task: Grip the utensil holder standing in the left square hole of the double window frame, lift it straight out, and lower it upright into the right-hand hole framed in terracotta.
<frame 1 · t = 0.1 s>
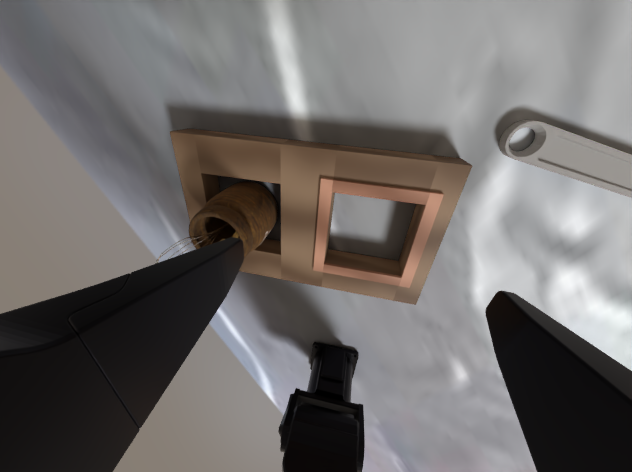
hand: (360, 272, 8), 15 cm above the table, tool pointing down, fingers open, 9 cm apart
double window frame: (309, 214, 24), on the table
utensil holder: (255, 205, 25), resting in double window frame
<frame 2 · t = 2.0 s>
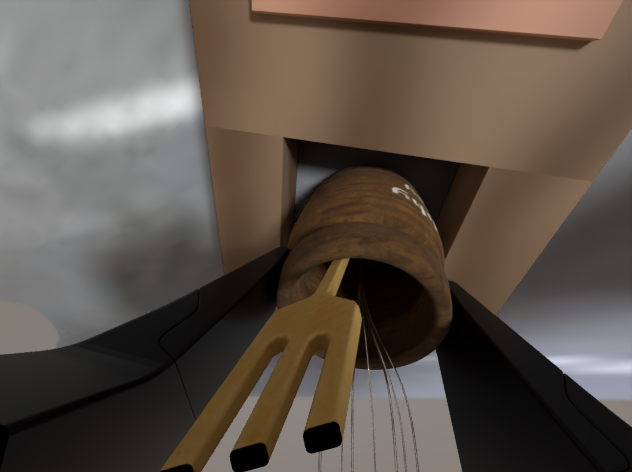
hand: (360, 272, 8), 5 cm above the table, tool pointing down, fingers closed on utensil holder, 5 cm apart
double window frame: (392, 82, 10), on the table
utensil holder: (362, 213, 13), resting in double window frame, touching gripper
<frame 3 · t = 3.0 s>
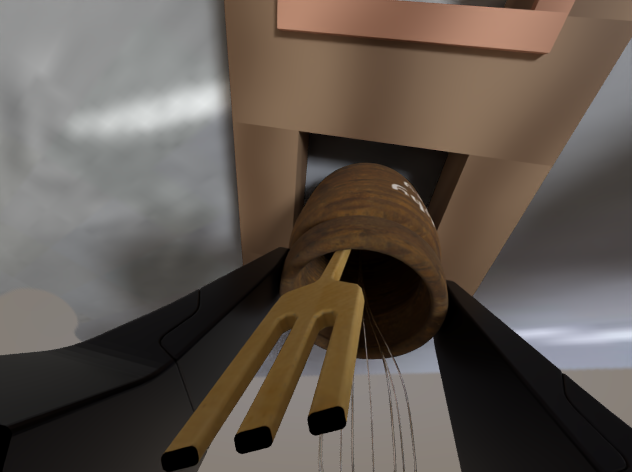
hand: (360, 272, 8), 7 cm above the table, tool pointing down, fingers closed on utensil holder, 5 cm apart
double window frame: (389, 85, 11), on the table
utensil holder: (361, 210, 13), point 2 cm above the table, touching gripper
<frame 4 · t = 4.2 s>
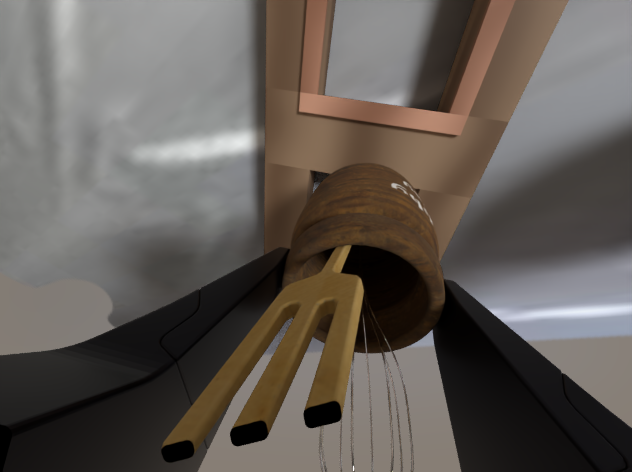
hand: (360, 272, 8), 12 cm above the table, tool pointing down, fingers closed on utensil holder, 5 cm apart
double window frame: (371, 138, 17), on the table
utensil holder: (362, 209, 13), point 6 cm above the table, touching gripper
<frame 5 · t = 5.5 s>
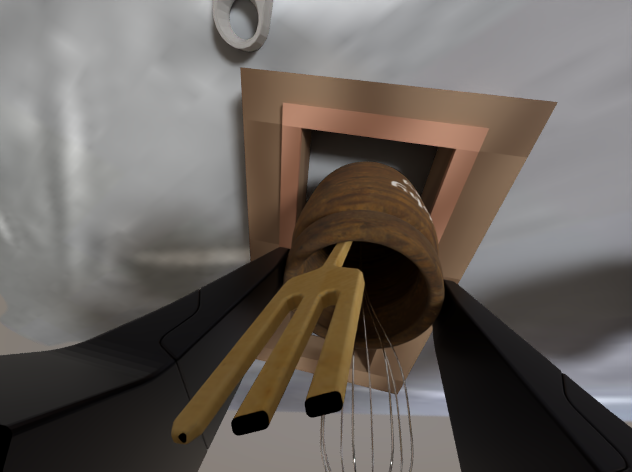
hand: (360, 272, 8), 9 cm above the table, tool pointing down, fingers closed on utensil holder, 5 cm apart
double window frame: (346, 263, 19), on the table
utensil holder: (362, 208, 14), point 3 cm above the table, touching gripper
when the fingers open (6 cm above the table, at t = 6.4 s): utensil holder stays where it is, resting in double window frame.
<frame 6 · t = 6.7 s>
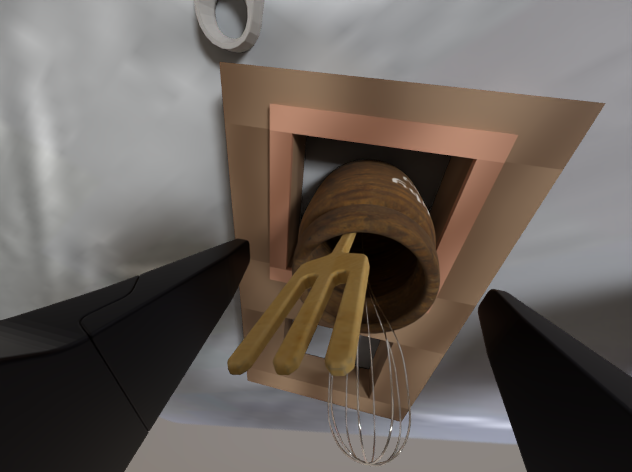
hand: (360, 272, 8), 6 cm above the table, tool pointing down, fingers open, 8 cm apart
double window frame: (346, 280, 17), on the table
utensil holder: (364, 203, 14), resting in double window frame
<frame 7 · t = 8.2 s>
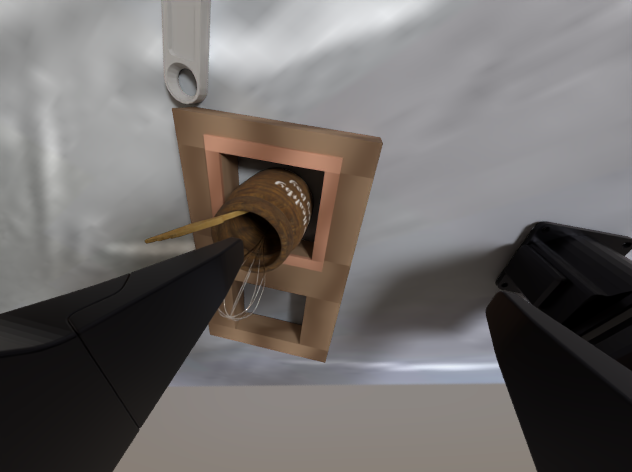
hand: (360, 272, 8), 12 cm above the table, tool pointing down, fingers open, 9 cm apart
double window frame: (277, 253, 23), on the table
utensil holder: (281, 197, 21), resting in double window frame
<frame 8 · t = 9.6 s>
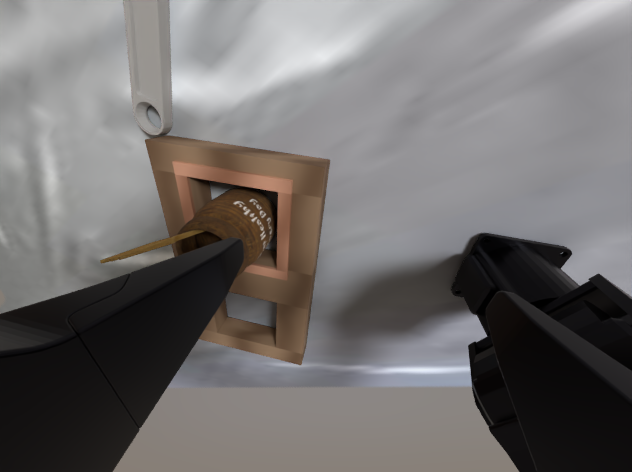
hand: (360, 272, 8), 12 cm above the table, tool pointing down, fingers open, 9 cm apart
double window frame: (251, 263, 25), on the table
utensil holder: (250, 212, 23), resting in double window frame
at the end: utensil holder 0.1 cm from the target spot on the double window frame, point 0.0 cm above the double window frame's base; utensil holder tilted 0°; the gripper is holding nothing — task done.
